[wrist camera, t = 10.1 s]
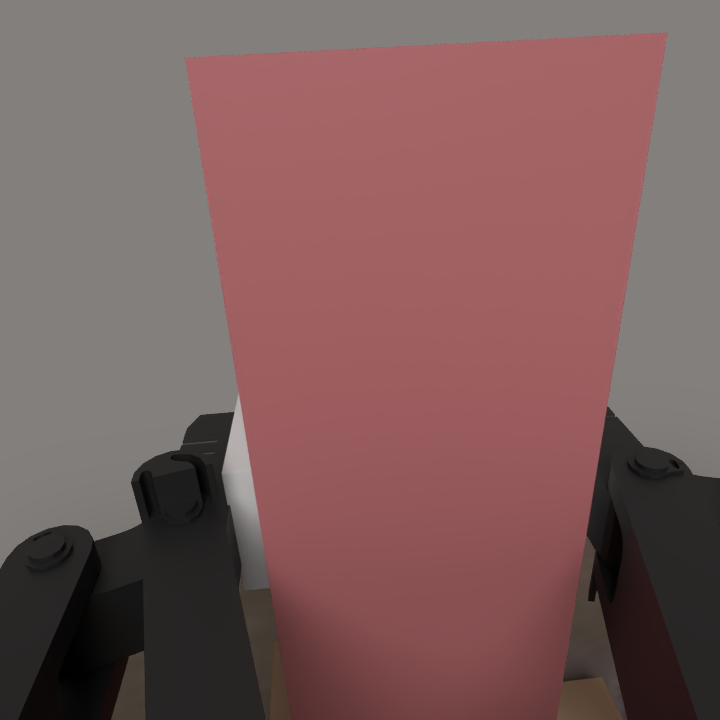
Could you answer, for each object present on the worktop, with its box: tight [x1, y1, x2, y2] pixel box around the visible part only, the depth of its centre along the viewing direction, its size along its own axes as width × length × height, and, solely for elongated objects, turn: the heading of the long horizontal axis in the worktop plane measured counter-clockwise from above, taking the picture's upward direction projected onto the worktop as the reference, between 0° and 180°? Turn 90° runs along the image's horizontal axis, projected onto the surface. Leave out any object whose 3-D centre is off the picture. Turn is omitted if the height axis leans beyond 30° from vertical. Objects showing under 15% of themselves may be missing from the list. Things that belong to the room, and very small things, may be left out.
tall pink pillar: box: [185, 33, 667, 720], centre depth 15 cm, size 5×11×18 cm, turn 5°
